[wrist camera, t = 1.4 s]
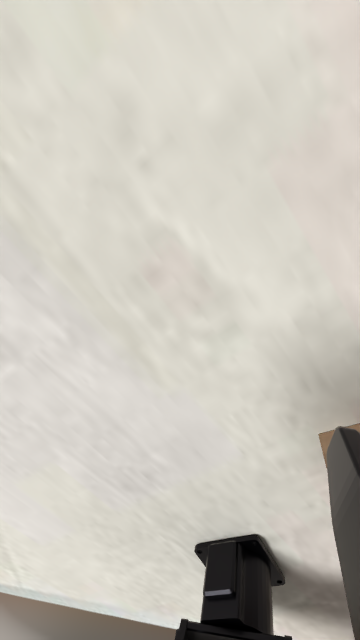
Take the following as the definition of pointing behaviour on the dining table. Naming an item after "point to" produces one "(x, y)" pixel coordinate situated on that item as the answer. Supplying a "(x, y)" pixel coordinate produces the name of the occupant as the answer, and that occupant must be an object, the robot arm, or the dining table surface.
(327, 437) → the button panel
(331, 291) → the dining table surface
